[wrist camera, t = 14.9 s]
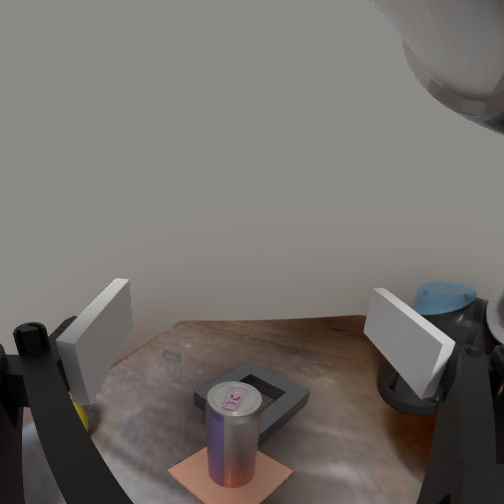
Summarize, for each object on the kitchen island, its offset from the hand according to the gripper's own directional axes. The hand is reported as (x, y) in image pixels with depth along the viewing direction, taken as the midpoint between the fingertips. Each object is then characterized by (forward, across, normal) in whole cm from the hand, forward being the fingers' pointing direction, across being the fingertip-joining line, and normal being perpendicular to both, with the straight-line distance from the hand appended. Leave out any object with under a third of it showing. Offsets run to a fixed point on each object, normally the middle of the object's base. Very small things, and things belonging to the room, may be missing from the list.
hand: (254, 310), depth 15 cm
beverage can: (+10, 0, -30) cm, 31 cm away
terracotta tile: (+10, 0, -30) cm, 32 cm away
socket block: (+25, +4, -30) cm, 39 cm away
